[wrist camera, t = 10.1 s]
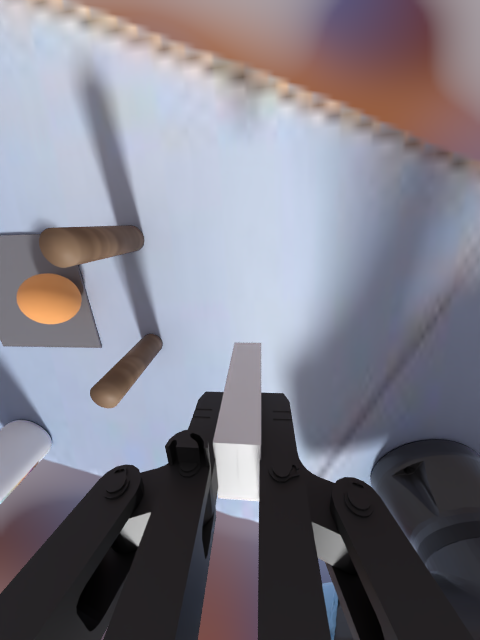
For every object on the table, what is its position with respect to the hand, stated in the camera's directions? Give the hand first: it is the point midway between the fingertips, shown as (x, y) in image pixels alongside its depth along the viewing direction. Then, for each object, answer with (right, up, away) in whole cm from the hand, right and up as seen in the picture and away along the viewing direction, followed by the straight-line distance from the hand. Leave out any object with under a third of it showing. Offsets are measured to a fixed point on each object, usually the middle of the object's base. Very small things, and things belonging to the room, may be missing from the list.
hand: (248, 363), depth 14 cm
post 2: (-12, 0, +16) cm, 20 cm away
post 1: (-12, +11, +11) cm, 20 cm away
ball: (-21, +5, +12) cm, 25 cm away
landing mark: (-26, +5, +15) cm, 30 cm away
